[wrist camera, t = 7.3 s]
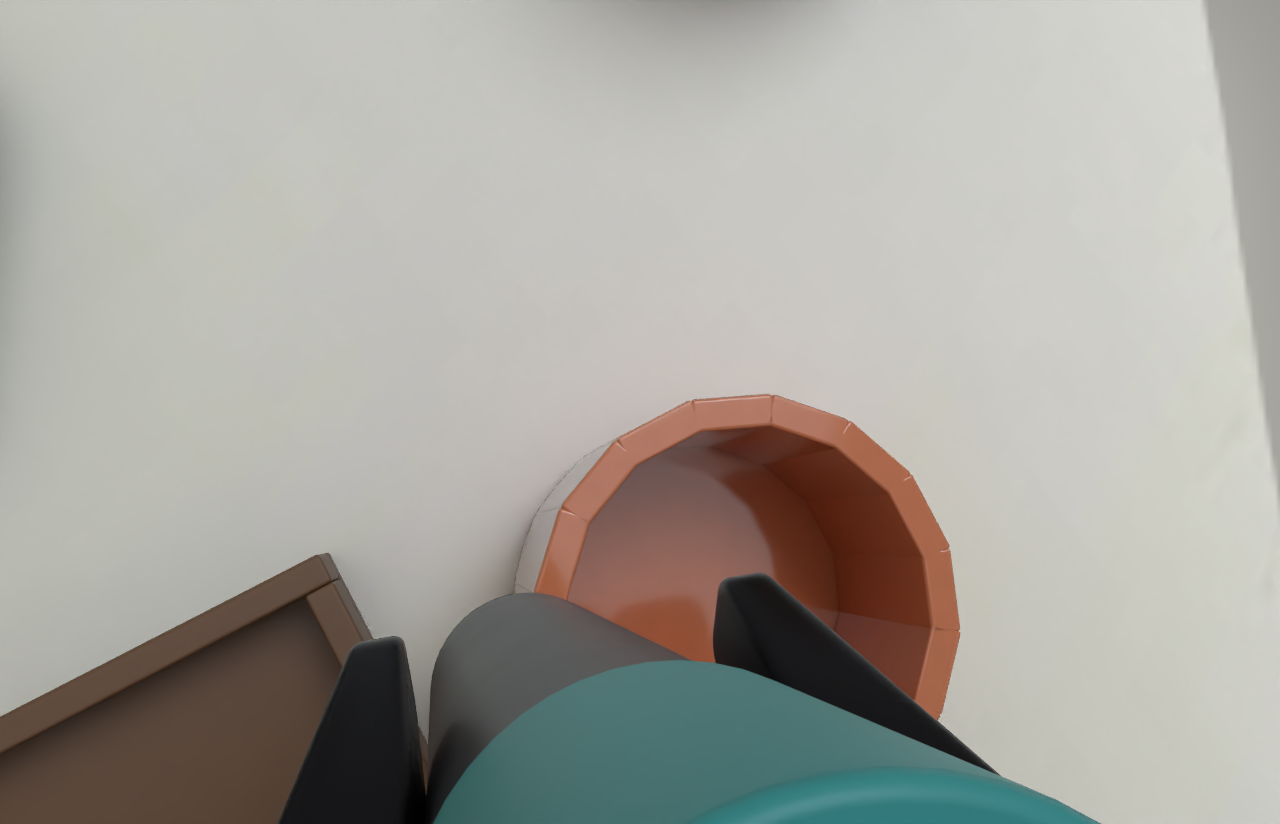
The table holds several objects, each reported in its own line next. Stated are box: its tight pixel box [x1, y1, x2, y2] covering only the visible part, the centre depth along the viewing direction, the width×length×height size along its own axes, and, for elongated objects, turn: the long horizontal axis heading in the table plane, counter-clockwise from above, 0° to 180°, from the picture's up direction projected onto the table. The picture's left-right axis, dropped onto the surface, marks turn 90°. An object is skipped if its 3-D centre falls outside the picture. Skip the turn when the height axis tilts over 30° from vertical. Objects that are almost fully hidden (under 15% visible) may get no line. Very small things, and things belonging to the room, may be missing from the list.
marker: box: [425, 592, 1100, 824], centre depth 9 cm, size 3×3×12 cm
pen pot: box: [514, 394, 960, 720], centre depth 20 cm, size 8×8×5 cm
